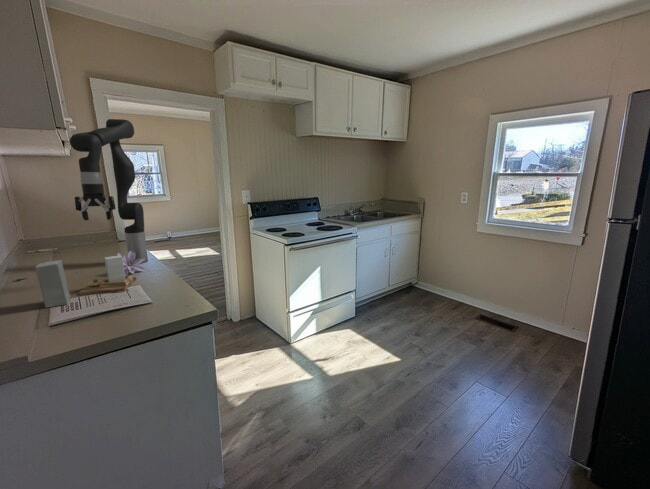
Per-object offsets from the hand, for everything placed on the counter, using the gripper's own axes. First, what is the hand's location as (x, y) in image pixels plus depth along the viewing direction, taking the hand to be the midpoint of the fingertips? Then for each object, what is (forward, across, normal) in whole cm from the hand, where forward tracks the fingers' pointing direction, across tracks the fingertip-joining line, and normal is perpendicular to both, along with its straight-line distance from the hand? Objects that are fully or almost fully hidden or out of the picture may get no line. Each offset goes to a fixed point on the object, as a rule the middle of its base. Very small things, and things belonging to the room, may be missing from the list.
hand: (97, 219), depth 135 cm
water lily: (+28, -7, -9) cm, 30 cm away
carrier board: (+28, -5, +11) cm, 30 cm away
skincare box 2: (+27, -8, +11) cm, 30 cm away
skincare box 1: (+28, +7, +26) cm, 39 cm away
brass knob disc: (+27, 0, +11) cm, 29 cm away
